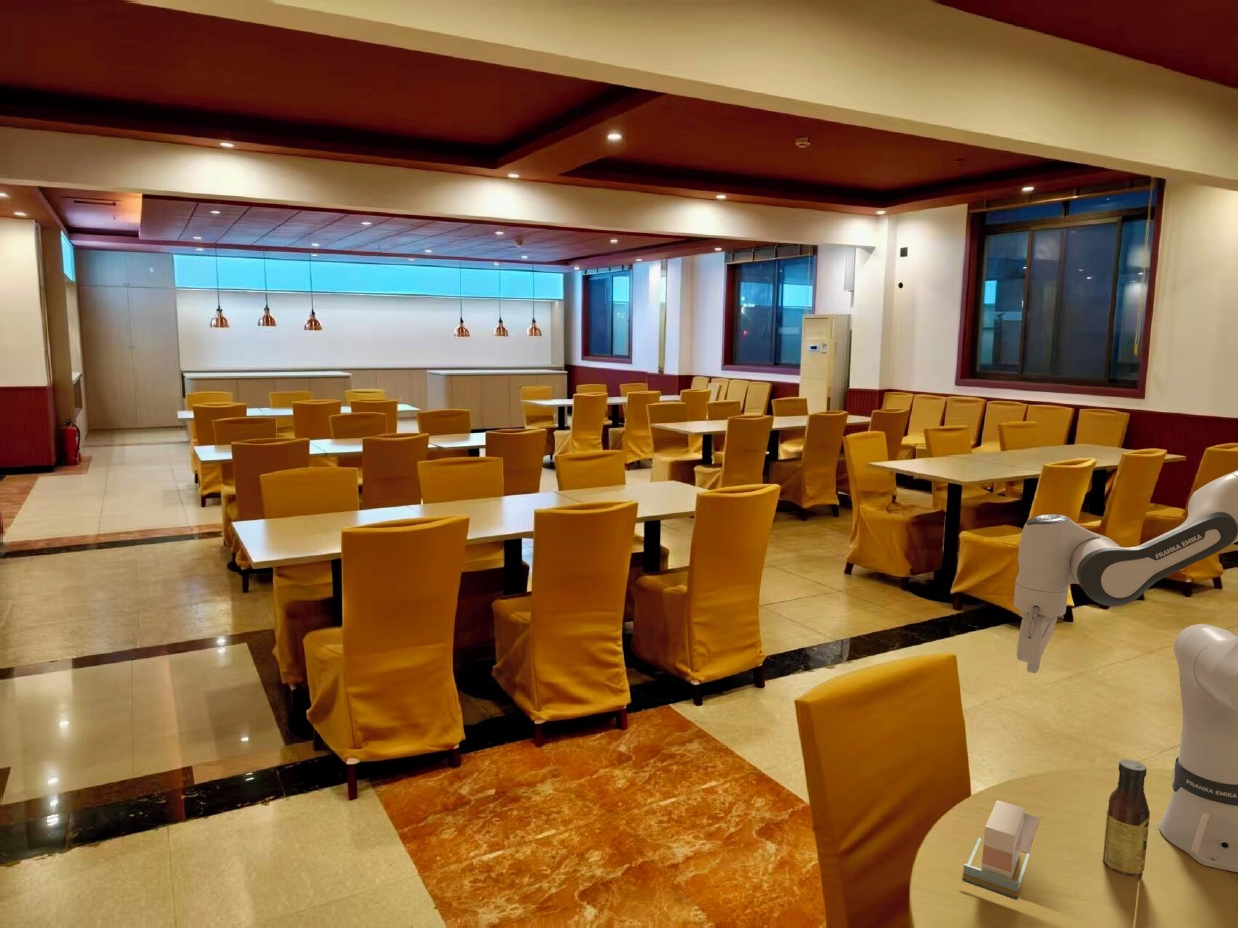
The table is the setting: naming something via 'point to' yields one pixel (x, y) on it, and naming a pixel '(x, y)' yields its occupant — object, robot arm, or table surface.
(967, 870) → the tray
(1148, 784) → the table surface
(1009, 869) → the tile stack
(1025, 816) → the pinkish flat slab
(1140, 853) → the sauce bottle
